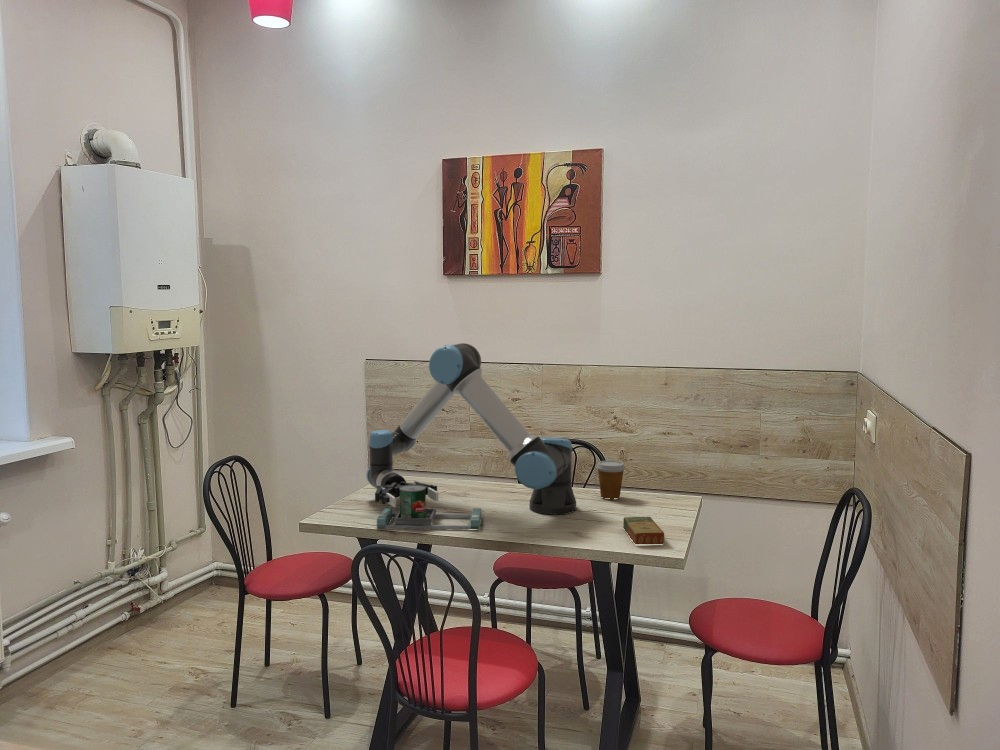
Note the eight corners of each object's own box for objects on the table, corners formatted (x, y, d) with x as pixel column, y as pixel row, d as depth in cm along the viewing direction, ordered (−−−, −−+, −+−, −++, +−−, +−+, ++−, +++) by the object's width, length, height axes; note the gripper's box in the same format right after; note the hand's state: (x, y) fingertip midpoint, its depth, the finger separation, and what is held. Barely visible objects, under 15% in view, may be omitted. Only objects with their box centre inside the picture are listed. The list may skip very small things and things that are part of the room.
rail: (481, 517, 237) (481, 514, 237) (478, 530, 224) (478, 526, 224) (384, 516, 238) (384, 512, 238) (377, 528, 225) (377, 524, 225)
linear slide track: (481, 517, 237) (481, 507, 237) (478, 530, 224) (478, 519, 224) (384, 516, 238) (384, 506, 238) (377, 528, 225) (376, 517, 225)
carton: (634, 547, 211) (634, 532, 210) (622, 530, 227) (622, 516, 226) (664, 547, 211) (664, 532, 211) (650, 529, 227) (650, 515, 227)
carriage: (436, 512, 237) (436, 507, 237) (430, 524, 225) (430, 519, 224) (401, 511, 238) (401, 507, 238) (394, 524, 225) (394, 519, 225)
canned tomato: (402, 519, 236) (402, 484, 234) (427, 519, 235) (427, 484, 234) (397, 526, 228) (397, 490, 226) (423, 527, 227) (423, 491, 226)
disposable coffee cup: (626, 501, 256) (626, 466, 255) (597, 501, 256) (598, 466, 255) (622, 494, 266) (622, 460, 264) (594, 494, 266) (595, 460, 265)
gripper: (427, 491, 253) (454, 506, 234) (354, 500, 241) (376, 517, 222) (427, 468, 252) (454, 482, 233) (353, 476, 240) (375, 492, 221)
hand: (416, 499), depth 228 cm, fingers open, 13 cm apart
